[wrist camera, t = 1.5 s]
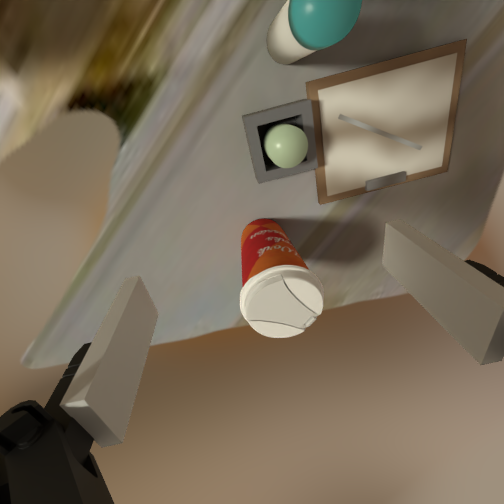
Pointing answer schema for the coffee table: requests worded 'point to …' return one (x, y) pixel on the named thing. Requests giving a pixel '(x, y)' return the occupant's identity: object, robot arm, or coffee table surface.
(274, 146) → the button
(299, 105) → the button housing
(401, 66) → the drawing board
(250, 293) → the coffee cup
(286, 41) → the marker
